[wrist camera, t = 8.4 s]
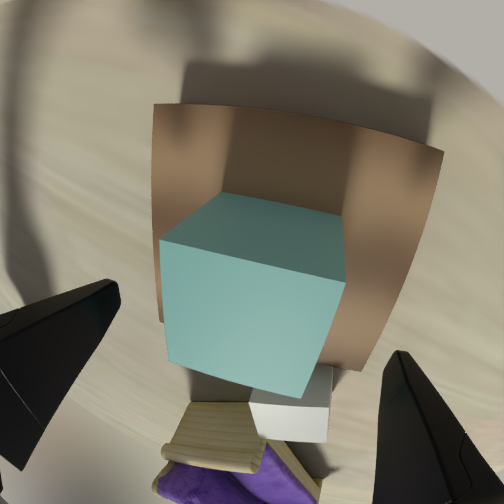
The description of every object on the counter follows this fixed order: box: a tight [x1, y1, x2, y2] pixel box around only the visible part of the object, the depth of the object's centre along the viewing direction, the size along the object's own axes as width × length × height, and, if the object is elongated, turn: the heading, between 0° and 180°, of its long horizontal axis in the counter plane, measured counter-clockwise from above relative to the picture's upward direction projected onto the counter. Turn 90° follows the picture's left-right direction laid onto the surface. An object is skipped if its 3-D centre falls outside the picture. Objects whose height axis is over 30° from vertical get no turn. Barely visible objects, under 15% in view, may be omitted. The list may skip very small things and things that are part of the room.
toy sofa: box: [152, 402, 322, 504], centre depth 22 cm, size 21×9×10 cm, turn 22°
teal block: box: [159, 192, 346, 399], centre depth 11 cm, size 5×5×5 cm
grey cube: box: [249, 364, 333, 443], centre depth 17 cm, size 4×4×4 cm
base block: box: [151, 104, 444, 372], centre depth 14 cm, size 12×12×3 cm
